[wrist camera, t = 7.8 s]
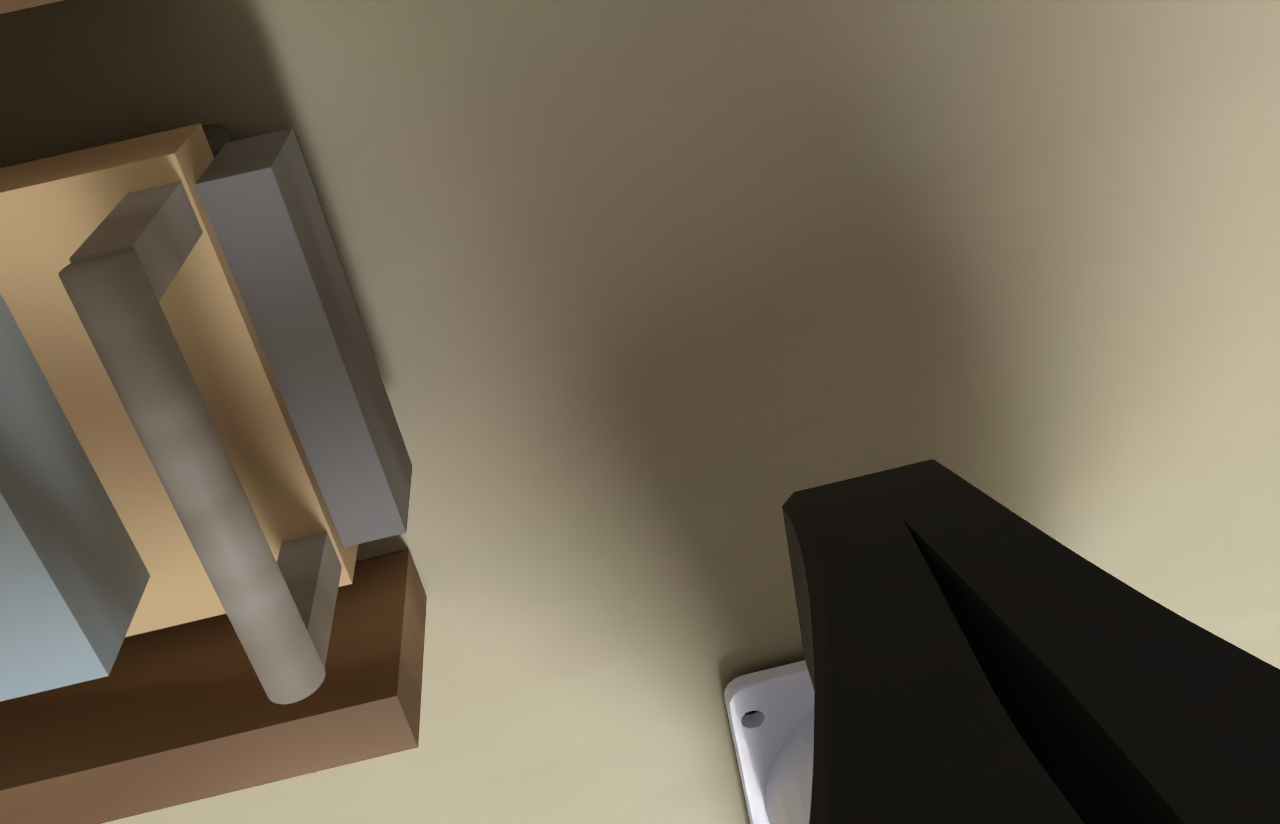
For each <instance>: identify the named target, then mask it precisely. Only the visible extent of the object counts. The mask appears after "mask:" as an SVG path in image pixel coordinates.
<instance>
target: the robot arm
mask: <svg viewBox="0 0 1280 824" xmlns="http://www.w3.org/2000/svg"><path fill="white" fill-rule="evenodd" d="M782 508H783V514H784V521H785V528H786V535H787V541H788V548H789V555H790V561H791V568H792V575H793V581H794V588H795V595H796V602H797V608H798V615H799V622H800V628H801V635H802V642H803V648H804V655H805V660H804V661H800V662H795V663H791V664H787V665H783V666H779V667H775V668H771V669H766V670H762V671H758V672H754V673H750V674H746V675H742V676H740V677H737V678H735V679H734V680H732V681H731V682H730V683H729V684H728V685H727V687H726V689H725V691H724V699H725V704H726V708H727V713H728V718H729V723H730V728H731V733H732V738H733V742H734V747H735V752H736V757H737V762H738V767H739V771H740V776H741V781H742V786H743V791H744V796H745V800H746V805H747V810H748V815H749V820H750V824H1280V669H1278V668H1276V667H1274V666H1272V665H1270V664H1268V663H1266V662H1264V661H1262V660H1261V659H1259V658H1257V657H1255V656H1253V655H1251V654H1249V653H1248V652H1246V651H1244V650H1242V649H1240V648H1238V647H1236V646H1235V645H1233V644H1231V643H1229V642H1227V641H1225V640H1223V639H1222V638H1220V637H1218V636H1216V635H1214V634H1212V633H1211V632H1209V631H1207V630H1205V629H1203V628H1201V627H1199V626H1198V625H1196V624H1194V623H1192V622H1190V621H1188V620H1186V619H1185V618H1183V617H1181V616H1180V615H1178V614H1176V613H1174V612H1173V611H1171V610H1169V609H1167V608H1166V607H1164V606H1162V605H1160V604H1159V603H1157V602H1155V601H1153V600H1152V599H1150V598H1148V597H1147V596H1145V595H1143V594H1142V593H1140V592H1138V591H1137V590H1135V589H1133V588H1132V587H1130V586H1128V585H1127V584H1125V583H1124V582H1122V581H1120V580H1119V579H1117V578H1115V577H1114V576H1112V575H1110V574H1109V573H1107V572H1105V571H1104V570H1102V569H1101V568H1099V567H1097V566H1096V565H1094V564H1092V563H1091V562H1089V561H1087V560H1086V559H1084V558H1083V557H1081V556H1080V555H1078V554H1076V553H1075V552H1073V551H1072V550H1070V549H1069V548H1067V547H1065V546H1064V545H1062V544H1061V543H1059V542H1058V541H1056V540H1055V539H1053V538H1052V537H1050V536H1048V535H1047V534H1045V533H1044V532H1042V531H1041V530H1039V529H1038V528H1036V527H1035V526H1033V525H1032V524H1030V523H1029V522H1027V521H1026V520H1024V519H1023V518H1021V517H1019V516H1018V515H1016V514H1015V513H1013V512H1012V511H1010V510H1009V509H1007V508H1006V507H1004V506H1003V505H1001V504H1000V503H998V502H997V501H995V500H994V499H992V498H991V497H989V496H988V495H986V494H985V493H984V492H982V491H981V490H979V489H977V488H976V487H974V486H973V485H971V484H970V483H968V482H967V481H965V480H964V479H962V478H961V477H959V476H958V475H956V474H955V473H953V472H952V471H950V470H949V469H947V468H946V467H944V466H943V465H941V464H940V463H938V462H937V461H935V460H933V459H932V460H927V461H923V462H919V463H915V464H911V465H906V466H902V467H898V468H894V469H890V470H885V471H881V472H877V473H873V474H869V475H864V476H860V477H856V478H852V479H848V480H843V481H839V482H835V483H831V484H827V485H822V486H818V487H814V488H810V489H806V490H801V491H797V492H794V493H793V494H792V495H791V496H790V498H789V499H788V500H787V501H786V502H785V504H784V505H783V506H782ZM756 710H758V711H757V712H756V713H754V714H752V715H745V713H747V712H750V711H756Z"/></svg>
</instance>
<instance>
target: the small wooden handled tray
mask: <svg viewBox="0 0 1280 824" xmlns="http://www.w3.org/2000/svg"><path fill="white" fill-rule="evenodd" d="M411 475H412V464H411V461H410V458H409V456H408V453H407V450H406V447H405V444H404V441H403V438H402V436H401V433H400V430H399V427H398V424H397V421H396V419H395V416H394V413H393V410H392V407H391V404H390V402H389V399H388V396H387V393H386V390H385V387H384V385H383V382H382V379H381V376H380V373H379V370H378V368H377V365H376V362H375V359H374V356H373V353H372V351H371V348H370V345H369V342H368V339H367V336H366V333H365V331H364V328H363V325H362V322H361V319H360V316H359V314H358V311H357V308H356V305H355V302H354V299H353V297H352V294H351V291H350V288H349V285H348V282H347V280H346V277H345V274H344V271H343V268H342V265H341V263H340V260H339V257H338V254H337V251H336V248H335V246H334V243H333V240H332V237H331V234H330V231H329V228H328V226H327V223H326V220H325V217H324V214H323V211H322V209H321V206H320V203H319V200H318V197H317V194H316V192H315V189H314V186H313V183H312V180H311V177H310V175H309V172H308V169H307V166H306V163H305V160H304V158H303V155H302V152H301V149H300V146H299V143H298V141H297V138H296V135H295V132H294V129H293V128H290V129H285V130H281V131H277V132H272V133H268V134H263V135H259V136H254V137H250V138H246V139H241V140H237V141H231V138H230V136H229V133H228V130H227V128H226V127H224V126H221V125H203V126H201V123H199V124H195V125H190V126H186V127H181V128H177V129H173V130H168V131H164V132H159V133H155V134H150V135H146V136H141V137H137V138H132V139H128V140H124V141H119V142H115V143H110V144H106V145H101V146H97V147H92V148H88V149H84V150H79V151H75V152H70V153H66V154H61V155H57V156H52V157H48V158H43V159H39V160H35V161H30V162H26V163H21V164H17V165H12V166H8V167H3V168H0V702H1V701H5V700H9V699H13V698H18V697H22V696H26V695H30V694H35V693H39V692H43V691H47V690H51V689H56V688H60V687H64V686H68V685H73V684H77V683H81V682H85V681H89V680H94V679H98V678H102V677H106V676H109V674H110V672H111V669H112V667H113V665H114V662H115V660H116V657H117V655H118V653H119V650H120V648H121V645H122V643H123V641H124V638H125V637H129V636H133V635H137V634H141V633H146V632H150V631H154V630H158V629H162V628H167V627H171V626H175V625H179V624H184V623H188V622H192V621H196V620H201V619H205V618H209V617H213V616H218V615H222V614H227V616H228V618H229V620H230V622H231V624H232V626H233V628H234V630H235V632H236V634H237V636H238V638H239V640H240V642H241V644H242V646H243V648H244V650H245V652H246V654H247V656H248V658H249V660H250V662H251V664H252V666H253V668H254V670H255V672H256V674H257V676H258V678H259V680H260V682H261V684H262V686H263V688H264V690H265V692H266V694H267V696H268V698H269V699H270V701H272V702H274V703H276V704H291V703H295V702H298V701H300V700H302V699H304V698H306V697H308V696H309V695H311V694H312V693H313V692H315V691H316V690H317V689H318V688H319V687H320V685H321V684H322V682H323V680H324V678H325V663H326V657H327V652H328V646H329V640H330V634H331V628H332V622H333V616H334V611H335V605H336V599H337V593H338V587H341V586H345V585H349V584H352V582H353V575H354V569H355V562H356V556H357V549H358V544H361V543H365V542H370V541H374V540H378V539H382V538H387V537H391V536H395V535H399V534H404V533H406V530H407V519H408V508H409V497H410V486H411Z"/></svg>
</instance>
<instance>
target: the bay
mask: <svg viewBox="0 0 1280 824" xmlns="http://www.w3.org/2000/svg"><path fill="white" fill-rule="evenodd" d="M58 1H62V0H0V14H4V13H8V12H13V11H17V10H22V9H26V8H31V7H35V6H40V5H44V4H49V3H53V2H58ZM426 600H427V597H426V594H425V591H424V589H423V586H422V583H421V581H420V578H419V575H418V573H417V570H416V567H415V565H414V562H413V559H412V557H411V554H410V551H409V550H407V551H403V552H399V553H395V554H390V555H386V556H382V557H378V558H373V559H369V560H365V561H361V562H356V563H355V569H354V575H353V582H352V584H349V585H345V586H341V587H338V593H337V599H336V605H335V611H334V616H333V622H332V628H331V634H330V640H329V646H328V652H327V657H326V663H325V678H324V680H323V682H322V684H321V685H320V687H319V688H318V689H317V690H316V691H315V692H313V693H312V694H311V695H309V696H308V697H306V698H304V699H302V700H300V701H298V702H295V703H291V704H276V703H274V702H272V701H270V699H269V698H268V696H267V694H266V692H265V690H264V688H263V686H262V684H261V682H260V680H259V678H258V676H257V674H256V672H255V670H254V668H253V666H252V664H251V662H250V660H249V658H248V656H247V654H246V652H245V650H244V648H243V646H242V644H241V642H240V640H239V638H238V636H237V634H236V632H235V630H234V628H233V626H232V624H231V622H230V620H229V618H228V616H227V614H222V615H218V616H213V617H209V618H205V619H201V620H196V621H192V622H188V623H184V624H179V625H175V626H171V627H167V628H162V629H158V630H154V631H150V632H146V633H141V634H137V635H133V636H129V637H125V638H124V641H123V643H122V645H121V648H120V650H119V653H118V655H117V657H116V660H115V662H114V665H113V667H112V669H111V672H110V674H109V676H106V677H102V678H98V679H94V680H89V681H85V682H81V683H77V684H73V685H68V686H64V687H60V688H56V689H51V690H47V691H43V692H39V693H35V694H30V695H26V696H22V697H18V698H13V699H9V700H5V701H1V702H0V824H100V823H105V822H109V821H113V820H117V819H121V818H125V817H130V816H134V815H138V814H142V813H146V812H150V811H155V810H159V809H163V808H167V807H171V806H175V805H179V804H184V803H188V802H192V801H196V800H200V799H204V798H209V797H213V796H217V795H221V794H225V793H229V792H234V791H238V790H242V789H246V788H250V787H254V786H259V785H263V784H267V783H271V782H275V781H279V780H283V779H288V778H292V777H296V776H300V775H304V774H308V773H313V772H317V771H321V770H325V769H329V768H333V767H338V766H342V765H346V764H350V763H354V762H358V761H363V760H367V759H371V758H375V757H379V756H383V755H387V754H392V753H396V752H400V751H404V750H408V749H412V748H417V747H418V740H419V722H420V705H421V687H422V670H423V652H424V635H425V617H426Z"/></svg>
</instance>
